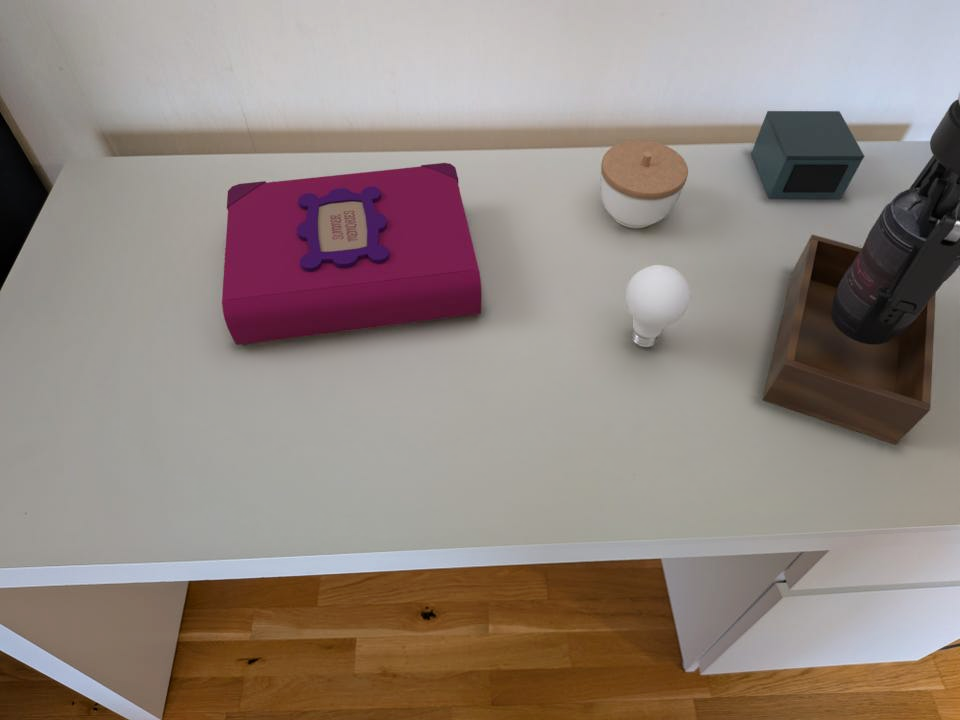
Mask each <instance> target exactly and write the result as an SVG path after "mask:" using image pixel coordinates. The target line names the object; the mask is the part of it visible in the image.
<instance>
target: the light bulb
mask: <svg viewBox="0 0 960 720" xmlns="http://www.w3.org/2000/svg"><path fill="white" fill-rule="evenodd" d="M690 301H691V289H690V286H689V283H688V281H687V279H686V278H685V276H683V274H682V273H680V272H679V271H678V270H677V269H675V268H673V267H671V266H670V265H669V266H668V265H665V264H653V265H649V266H646V267H644V268H642V269H640V270H639V271H637V272H636V273H635V274H634V275H633V276H632V277H631V279H630V280H629V281H628V284H627V286H626V291H625V306H626V308H627V310H628V312H629V314H630V316H631V317H632V326H633V328H632V330H631V336H630V337H631V340H632V342H633V343H635V344H636V345H637V346H639V347H642V348H650V347H652V346H654V345H656V344H657V343H658V341H659V339H660V338H659V337H660V335H661V334H662V333H663V331H664V329H665V328H667V327H669V326H671V325H674V324H676V323H677V322H679V320H681V318H683V317H684V315H685V314H686V312H687V310H688V308H689V306H690Z"/></svg>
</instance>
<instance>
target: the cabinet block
mask: <svg viewBox="0 0 960 720" xmlns="http://www.w3.org/2000/svg"><path fill="white" fill-rule="evenodd" d="M759 129H760V130H759V132H758V134H757V137H756V139H755V142H754V145H753V147H752V149H751V153H750V155H751V158H752V160H753V162H754V165H755V168H756V170H757V172H758V173H757V174H758V175H759V177H760V180H761V182H762V185H763V188H764V190H765V192H766V195H767V198H768V199H769V200H770V199H772V200H773V199H774V200H775V199H777V200H779V199H781V200H782V199H784V200H785V199H791V200H792V199H796V200H797V199H809V200H810V199H812V200H813V199H814V200H815V199H816V200H818V199H821V200H822V199H824V200H827V199H831V200H832V199H834V200H836V199H837V200H838V199H839V200H840V199H842V198H843V196H844V194H845V192H846V191H847V189H848V187H849V185H850V184H851V182H852V180H853V178H854V176H855V175H856V172H857V170H858V169H859V167H860V165H861V163H862V161H863V160H864V158H865V155H864V153H863V151H862V149H861V147H860V146H859V143H858V141H857V139H856V138H855V136H854V135H853V132H852V131H851V130H850V128H849V125H848V124H847V122H846V120H845V119H844V117H843V115H842V113H841V111H840V110H767V111H766V114H765V116H764V119H763V121H762V124H761V127H760V128H759Z"/></svg>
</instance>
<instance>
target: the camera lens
mask: <svg viewBox="0 0 960 720" xmlns="http://www.w3.org/2000/svg"><path fill="white" fill-rule="evenodd" d="M919 191H920V188H915V189H913V188H912V189H909V188H907V189H905V190H903V191H901V192H899V193H898V194H897V195H895V196H894V198H893V199H892V200H891V201H890V202H889V203H888V204H886V205H885V206H884V208H883V209H882V211H881V213H880V214H879V216H878V218H876V221H875V222H874V223H873V225H872V227H871V229H870V230H869V231H868V235H867V237H866V238H865V241H864V244H863V246H862V247H861V248H862V249H861V251H860V252H859V254H858V255H857V257H856V259H855V260H854V262H853V263H852V265H851V266H850V267H849V269H848V270H847V272H846V273H845V275H844V276H843V278H842V280H841V282H840V284H839V286H838V288H837V291H836V293H835V295H834V298H833V306H832V309H831V318H832V321H833V323H834V324H835V326H836V327H837V328H838V330H839V331H840V332H842V333H843V334H844V335H846V336H847V337H849V338H851V339H853V340H855V341H857V342H860V343H864V344H870V345H877V344H880V343H876V342H873V341H869V340H866V339H863V338H859V337H856V336H853V334H854V330H855V328H856V327H857V325H858V324H859V323H860V321H861V320H862V318H863V317H864V315H865V314H866V313H867V311H868V310H869V308H870V307H871V305H872V304H873V302H874V301H875V300H876V298H877V297H878V296H877V291H878V289H879V288H882V289H883V288H884V287H886V288H889V286H890V284H891V282H892V280H893V278H894V276H895V274H896V273H897V271H898V269H899V268H900V267H901V265H902V264H903V262H904V261H905V259H906V258H907V257H908V255H909V254H910V252H911V251H912V249H913V247H914V246H915V244H916V246H917V248H918V249H919V250H920V249H921V247H922V246H923V244H924V242H925V241H926V238H922V237H919V227H918V225H917V223H916V222H917V219H918V217H919V215H920V213H921V211H922V209H923V208H924V206H925V204H926V202H927V200H928V197H924V196H920V195H919ZM929 220H931V221H935V222H937V221H938V220H939V219H935V218H933V217H932V216H930V217H929ZM959 267H960V253H959V254H958V256H957V257H956V259H955V260H954V262H953V263H952V265H951V266H950V268H949V269H948V271H947V272H946V274H945V275H944V277H943V278H942V280H941V281H940V283H939V284H938V285H937V287H936V288H935V290H934V291H933V293H932V294H931V296H930V297H929V299H928V300H927V302H926V303H925V305H924V306H923V308H922V310H923V309H924V308H925V306H926V305H927V303H928V302H929V300H930V299H931V298H932V297H933V295H934V294H935V293H936V294H937V292H938V290H939V289H940V288H941V286H942V285H943V284H944V283H945V282H946V281H948V279H949V278H950V277H951V276H952V275H953V274H955V272H956V271H957V269H959ZM922 310H921V311H920V312H919V313H918V315H914V314H910V313H907V312H906V313H905V314H904V315H903V316H902V318H901V319H900V320H899V322H898V323H897V324H896V326H895V327H894V328H893V330H892V331H891V332H890V333H889V335H888V336H887V337H886V339H885V340H884V341H883V343H886V342H888V341H890V340H891V339H893V338H894V336H896V335H898V334H900V333H902V332H903V331H904V330H905V329H906V328H907V327H908V326H909V325H910V324H911V323H912V322H913V321H914V320H915V319H916V318H917V317H918V316H919V314H920V313H921V312H922ZM883 343H882V344H883Z"/></svg>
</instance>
